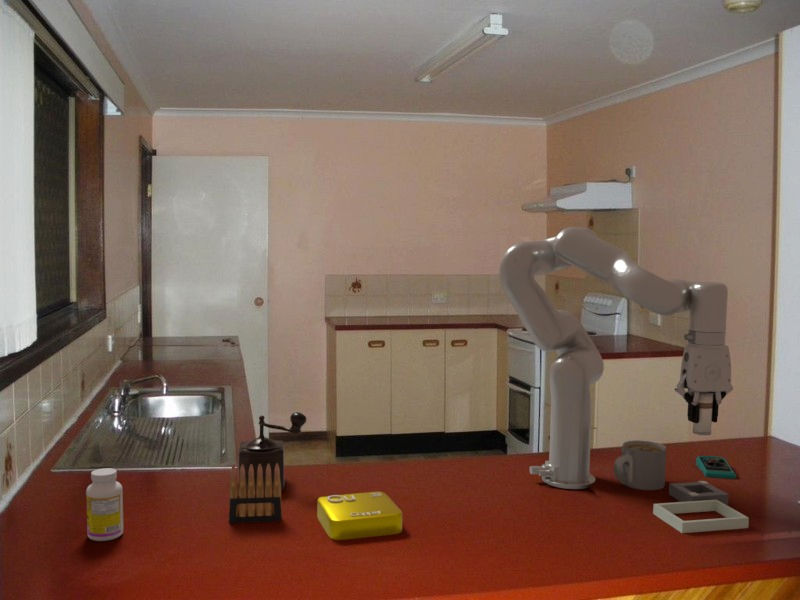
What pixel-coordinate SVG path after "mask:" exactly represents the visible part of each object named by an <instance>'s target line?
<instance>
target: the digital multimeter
mask: <svg viewBox="0 0 800 600" xmlns="http://www.w3.org/2000/svg"><path fill="white" fill-rule="evenodd" d="M695 465H696V466H697V468H698V469H699V471H702V473H703V475H704V478H717V479H728V480H729V479H731V480H736V479H737V474H736V473H735V471H734V469H732V468H731V466H730V465H729V463H728V461H727V460H726V459H725V458H724V457H722V456H714V455H698V456H697V457H696V458H695Z"/></svg>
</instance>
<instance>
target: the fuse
mask: <svg viewBox="0 0 800 600" xmlns="http://www.w3.org/2000/svg"><path fill="white" fill-rule="evenodd" d="M697 405H699V406H700V411H699V423H693V422H692V431H691V432H692V434H695V435H698V436H711V435H712V424H713V422H712V408H713V392H700V394H699V399H698V403H697Z"/></svg>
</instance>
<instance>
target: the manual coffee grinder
mask: <svg viewBox="0 0 800 600" xmlns="http://www.w3.org/2000/svg"><path fill="white" fill-rule="evenodd" d="M258 419H259V420H258V425H259V436H258V437H256V438H254V439H251V440H242V441H240V444H239V449H238V478H239V477H240V468H241V465H242V464H243V465H244V468H245V478H246V486H247V484H248V473H249V467H250V465H251V464H252V465H253V469H254V479H255V493H256V482H257V470H258V466H259V464H261V466H262V471H263V482H264V485H265V477H266V468H267V465H268V463H269V465H270V468H271V477H272V490H273V482H274V470H275V466H276V463H278V465H279V469H280V481H281V491H284V490H285V484H286V483H285V481H286V480H285V457H284V456H285V455H284V454H285V444H284V441H283V440H275V439H271V438H269V437H266V436H265V433H264V431H265V430H264V427H266V428H269V429H275V430H280V431H285V432H288V433H291V434H293V435H297V434H301V433H302V427H303V426H304V425H305V424H306V423H307V416H306V415H305V414H303V413H302V412H300V411H299V412H298V411H296V412H293V413H292V414H291V415H290V418H289V419H290V422H291V426H290V427H287V426H283V425H277V424H272V423H271V424H270V423H266V421H265V416H264V415H259V417H258Z"/></svg>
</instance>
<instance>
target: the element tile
mask: <svg viewBox="0 0 800 600" xmlns="http://www.w3.org/2000/svg"><path fill="white" fill-rule="evenodd" d="M316 502H317V507H316V508H317V509H316V512H317V513H316V516H317V519H318V521H319V523H320V524H321V527H322V528H323V529H324V531H325V533H326V534H327V537H329V539H331V540H335V541H345V540H354V539H362V538H364V539H365V538H372V537H381V536H382V537H383V536H391V535H398V534H401V533H402V532H403V512H402V510H401V509H400V508H399V507H398V505H397V504H395V502H394V501H393V500H392V499H391V498H390V496H388V494H386V493H385V492H383V491H369V492H359V493H357V492H356V493H346V494H333V495H332V494H331V495H326V496H320V497H318V499H317V501H316Z"/></svg>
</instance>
